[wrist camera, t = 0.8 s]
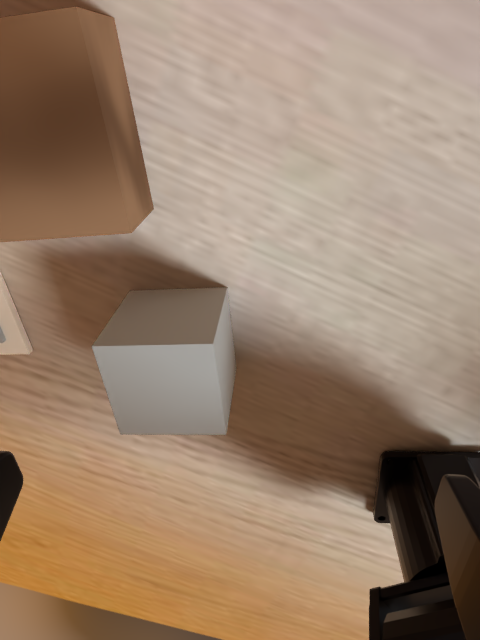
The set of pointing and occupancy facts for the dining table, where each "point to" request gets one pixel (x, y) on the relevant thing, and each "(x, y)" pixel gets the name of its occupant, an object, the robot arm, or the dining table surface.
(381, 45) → the dining table surface
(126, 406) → the grey cube
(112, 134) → the brown square block
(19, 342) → the swatch
